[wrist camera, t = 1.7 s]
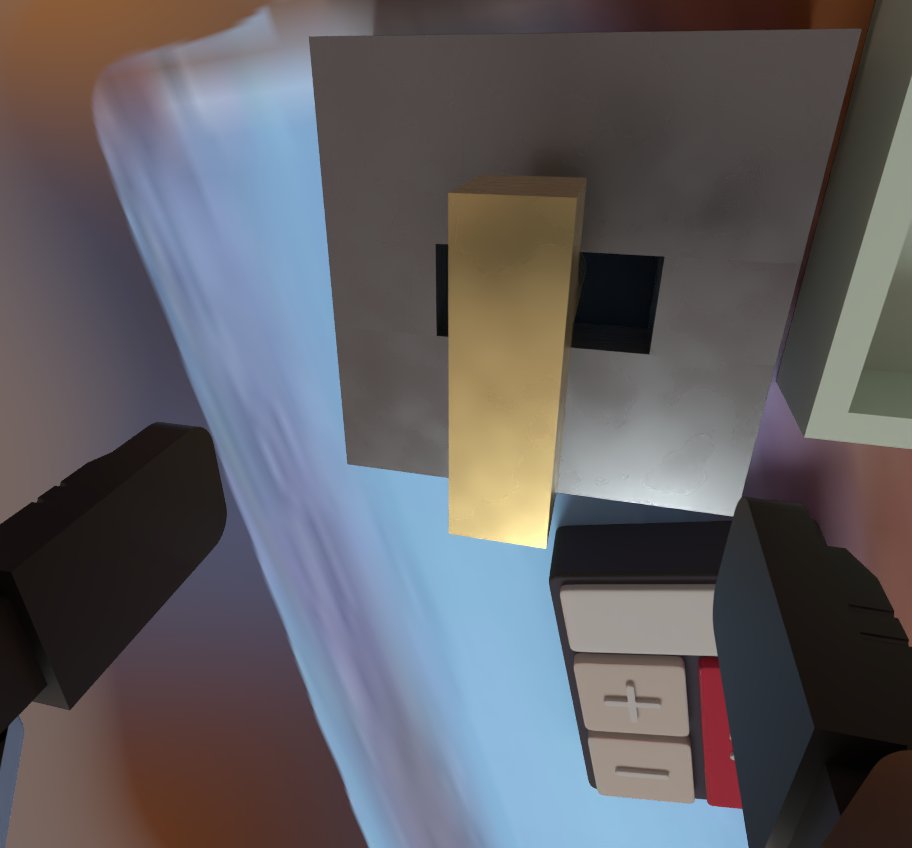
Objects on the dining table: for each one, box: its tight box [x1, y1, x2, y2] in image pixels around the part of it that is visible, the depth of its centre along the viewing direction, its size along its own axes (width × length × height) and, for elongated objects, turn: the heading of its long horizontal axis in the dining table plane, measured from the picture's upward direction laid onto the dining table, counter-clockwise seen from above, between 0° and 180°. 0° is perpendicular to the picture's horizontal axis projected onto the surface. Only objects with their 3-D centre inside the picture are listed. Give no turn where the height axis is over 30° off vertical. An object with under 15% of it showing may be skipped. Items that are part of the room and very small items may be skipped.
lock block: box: [309, 29, 862, 516], centre depth 22 cm, size 14×14×5 cm
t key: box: [448, 174, 587, 549], centre depth 19 cm, size 8×2×12 cm, turn 0°
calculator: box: [549, 519, 827, 809], centre depth 30 cm, size 11×4×15 cm
